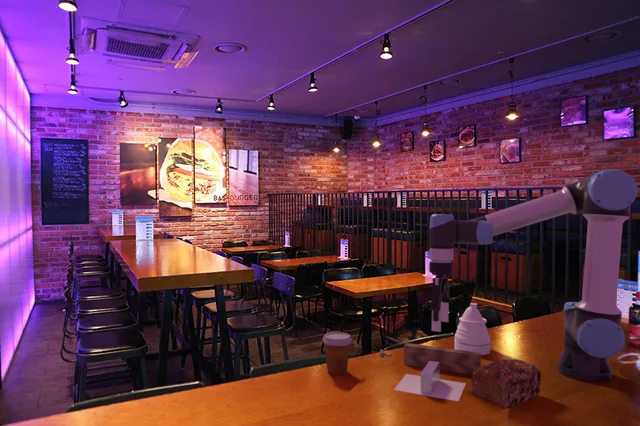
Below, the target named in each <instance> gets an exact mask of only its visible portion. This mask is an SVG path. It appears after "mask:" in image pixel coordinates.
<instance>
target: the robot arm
mask: <svg viewBox="0 0 640 426" xmlns="http://www.w3.org/2000/svg"><path fill="white" fill-rule="evenodd" d="M637 195H638V185H637V183H636V181H635V179H634V178H633V177H632V176H631V175H630V174H628V173H627V172H625V171H623V170H620V169H613V168H612V169H611V168H610V169H601V170H600V171H597V172H595V173H591V174H589V175H587V176H586V177H584V178H581V179H579V180H578V181H575V182H573V183H570V184H567V185H564V186H563V187H562V188H561V190H558V191H557V192H553V193H550V194H547V195H544V196H541V197H537V198H535V199H531V200H528V201H525V202H522V203H520V204H515V205H513V206H510V207H507V208H503V209H501V210H497V211H495V212H492V213H489V214H485V215H483V216H479V217H476V218H472V219H469V220H458V219H455V217H454V215H453V214H452V213H448V214H447V213H433V214H432V215H430V217H429V250H427V254H429V260H430V261H429V262H428V264H429V265H428V266H429V267H428V272H429V273H430V274H435V277H434V278H432V289H431V299H430V306H429V307H428V309H429V311H431V331H432V332H439V333H440V332H442V322H443V323H449V314H450V313H449V311H450V310H449V306H450V304H449V303H451V302H452V298H451V296H450V285H449V275H452V274H453V273H454V263H453V262H452V261H454V244H463V245H464V244H465V245H466V244H468V245H481V246H482V245H491V244H493V240H494V236H498V235H501V234H504V233H507V232H510V231H513V230H517V229H521V228H524V227H526V226H527V227H528V226H529V225H533V224H537V223H540V222H543V221H547V220H550V219H553V218H556V217H560V216H563V215H566V214H568V213H570V214H573V215H577V214H579V213H582V216H583V217H584V218H585V219H586V221H587V231H586V243H585V245H586V246H585V254H584V255H585V258H584V268H583V282H582V283H583V284H582V293H581V300H580V301H578V302H577V301H568V302H565V303H564V305H563V310H562V312H563V350H562V351H561V353H560V354H561V355H560V358H559V360H558V363H557V370H558V372H559V373H560V374H562V375H564V376H565V377H569V378H571V379H574V380H577V381H578V380H579V381H583V382H590V383H591V382H592V383H604V382H609V381H612V379H613V370H612V367H611V364H610V361H609V358H612V357H615V356H616V355H618V354H620V352H621V351H622V350H623V349H624V347H625V343H626V336H625V332H624V329H622V327H621V326H622V314H623V313H622V310H621V309H620V308H619V307H618V306H617V300H618V298H617V297H618V296H617V295H618V285H619V284H618V283H619V274H620V261H621V248H622V247H621V246H622V235H623V224H624V222H625V221H627V220H628V219H630V216H631V205H632V204H633V203H634V201H635V200H636V199H637Z"/></svg>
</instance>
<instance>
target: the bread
mask: <svg viewBox="0 0 640 426" xmlns="http://www.w3.org/2000/svg"><path fill="white" fill-rule="evenodd" d="M541 377H542V375H541V371H540V369H539V368H538V367H537V366H536V365H534V364H531V363H529V362H527V361H525V360H521V359H516V358H512V359H500V360H497V361H494V362H490V363H487V364H484V365H481V367H480V368H478V369H477V370H476V371H474V372H473V374H472V375H471V382H470V383H471V387H472V388H471V389H472V394H473V395H476V396H478V397H480V398H483V399H486V400H488V401H489V402H492V403H496V404H498V405H500V406H502V409H503V410H505V409H506V408H507V407H513V406H517V405H519V404H522V403H524V402H527V401H529V400H530V399H533V398H535V397H537V396H539V395H540V393H541V392H540V391H541V390H540V389H541V387H542V386H541V385H542V383H541V382H542V379H541Z"/></svg>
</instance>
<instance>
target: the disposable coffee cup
mask: <svg viewBox="0 0 640 426" xmlns="http://www.w3.org/2000/svg"><path fill="white" fill-rule="evenodd" d="M352 341H353V339H352V338H351V335H350V334H349V333H346V332H341V331H340V332H337V331H335V332H334V331H333V332H328V333H325V334H324V335H323V338H322V342H323V345H324V353H325V354H324V355H325V360H326V369H327V374H329V375H333V376H343V375H346V374H347V372H348V364H349V357H350V348H351V343H352Z"/></svg>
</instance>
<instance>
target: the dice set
mask: <svg viewBox="0 0 640 426" xmlns="http://www.w3.org/2000/svg"><path fill="white" fill-rule="evenodd" d="M384 351H385V350H384V349H380V350H379V357H380V358H383V357H384V356H385V357H388V358H392V355H393V353H391V352H388V351H385V352H384Z"/></svg>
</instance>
